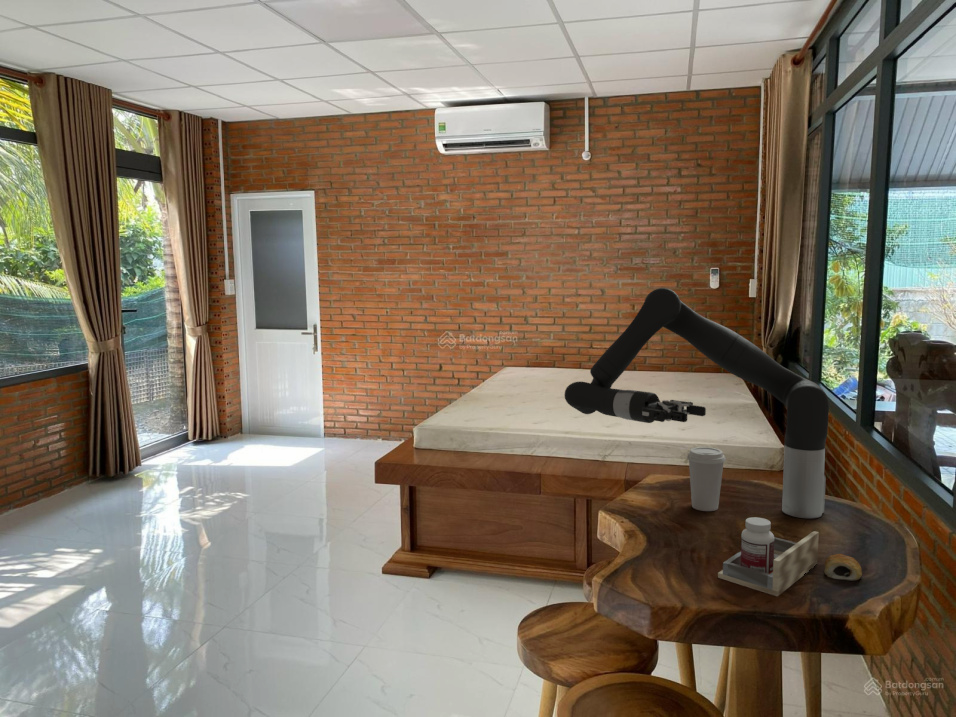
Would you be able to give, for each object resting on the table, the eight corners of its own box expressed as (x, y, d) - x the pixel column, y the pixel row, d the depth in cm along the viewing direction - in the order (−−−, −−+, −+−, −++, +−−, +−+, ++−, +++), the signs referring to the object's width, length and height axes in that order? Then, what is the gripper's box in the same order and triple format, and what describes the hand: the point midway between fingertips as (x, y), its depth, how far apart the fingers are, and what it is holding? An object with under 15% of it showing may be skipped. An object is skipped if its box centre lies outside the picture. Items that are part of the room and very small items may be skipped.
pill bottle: (758, 565, 145) (759, 514, 144) (780, 577, 140) (782, 524, 138) (733, 570, 143) (735, 518, 142) (755, 582, 138) (757, 528, 136)
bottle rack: (760, 548, 156) (761, 518, 155) (817, 564, 148) (818, 532, 147) (717, 577, 142) (718, 544, 142) (777, 596, 134) (778, 561, 133)
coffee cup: (679, 508, 183) (680, 451, 181) (695, 498, 190) (696, 444, 189) (715, 516, 177) (717, 457, 175) (730, 505, 184) (731, 449, 182)
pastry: (825, 560, 150) (826, 543, 150) (861, 566, 147) (862, 549, 146) (823, 578, 142) (824, 560, 141) (861, 585, 139) (863, 566, 138)
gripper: (619, 394, 171) (680, 403, 159) (651, 387, 181) (711, 394, 169) (619, 425, 172) (680, 435, 160) (651, 415, 181) (710, 425, 170)
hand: (696, 414), depth 165 cm, fingers open, 8 cm apart
